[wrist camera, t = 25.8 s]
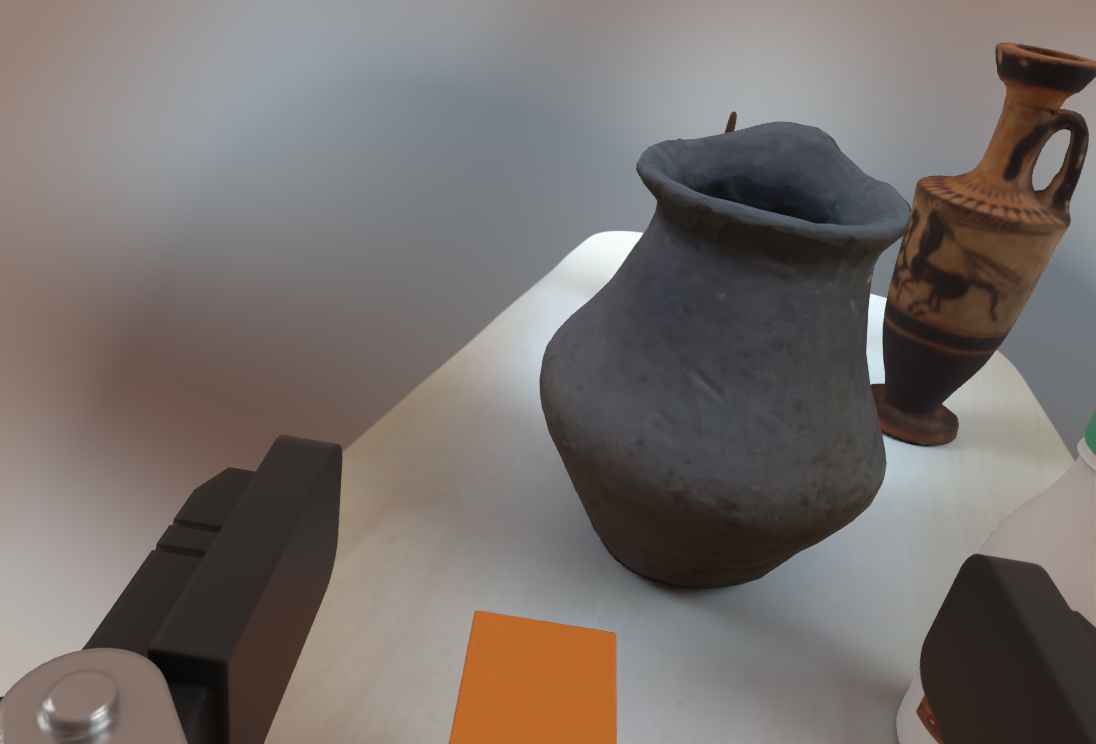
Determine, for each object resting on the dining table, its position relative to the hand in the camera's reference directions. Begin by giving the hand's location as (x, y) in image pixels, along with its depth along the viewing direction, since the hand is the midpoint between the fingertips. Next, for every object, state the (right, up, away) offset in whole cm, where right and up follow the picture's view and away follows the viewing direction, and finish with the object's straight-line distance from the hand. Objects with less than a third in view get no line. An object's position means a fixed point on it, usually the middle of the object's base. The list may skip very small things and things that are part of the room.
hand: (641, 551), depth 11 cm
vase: (+29, -2, +64) cm, 70 cm away
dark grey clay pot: (+7, -8, +46) cm, 47 cm away
